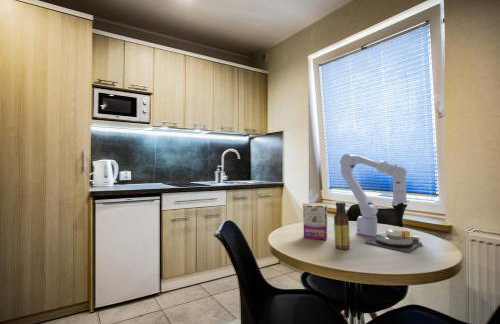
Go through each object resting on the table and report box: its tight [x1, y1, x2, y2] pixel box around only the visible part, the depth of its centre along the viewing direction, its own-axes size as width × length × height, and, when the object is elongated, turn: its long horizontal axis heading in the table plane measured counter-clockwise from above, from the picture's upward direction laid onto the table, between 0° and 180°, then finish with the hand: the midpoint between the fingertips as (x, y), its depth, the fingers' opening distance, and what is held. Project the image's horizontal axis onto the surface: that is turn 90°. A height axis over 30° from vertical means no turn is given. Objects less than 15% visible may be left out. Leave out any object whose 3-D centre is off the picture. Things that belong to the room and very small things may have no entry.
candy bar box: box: [302, 204, 328, 241], centre depth 133 cm, size 11×5×16 cm, turn 68°
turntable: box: [375, 230, 413, 246], centre depth 123 cm, size 15×15×5 cm
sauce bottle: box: [333, 201, 351, 250], centre depth 117 cm, size 6×6×20 cm
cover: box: [385, 228, 402, 239], centre depth 123 cm, size 6×6×3 cm
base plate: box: [365, 235, 423, 254], centre depth 123 cm, size 18×18×3 cm
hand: (399, 218), depth 131 cm, fingers closed
